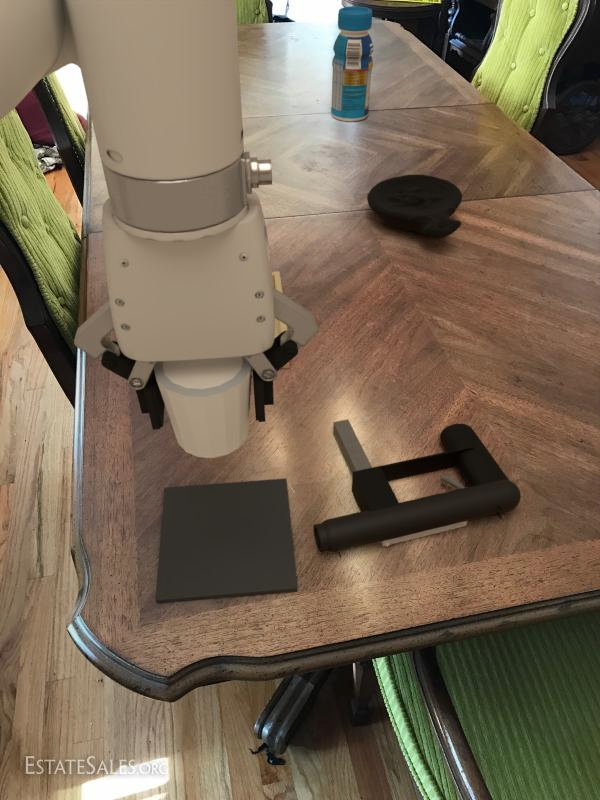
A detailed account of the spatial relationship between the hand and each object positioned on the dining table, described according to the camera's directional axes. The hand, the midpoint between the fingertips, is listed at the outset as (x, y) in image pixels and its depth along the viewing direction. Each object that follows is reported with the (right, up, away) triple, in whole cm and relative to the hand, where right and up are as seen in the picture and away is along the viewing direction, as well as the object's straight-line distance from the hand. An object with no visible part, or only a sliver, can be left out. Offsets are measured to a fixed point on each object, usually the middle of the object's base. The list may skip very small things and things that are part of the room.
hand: (209, 411), depth 46 cm
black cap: (+26, +29, +53) cm, 66 cm away
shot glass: (0, -2, +2) cm, 2 cm away
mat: (0, -12, +11) cm, 16 cm away
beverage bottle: (+18, +63, +89) cm, 110 cm away
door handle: (+16, -7, +16) cm, 24 cm away
